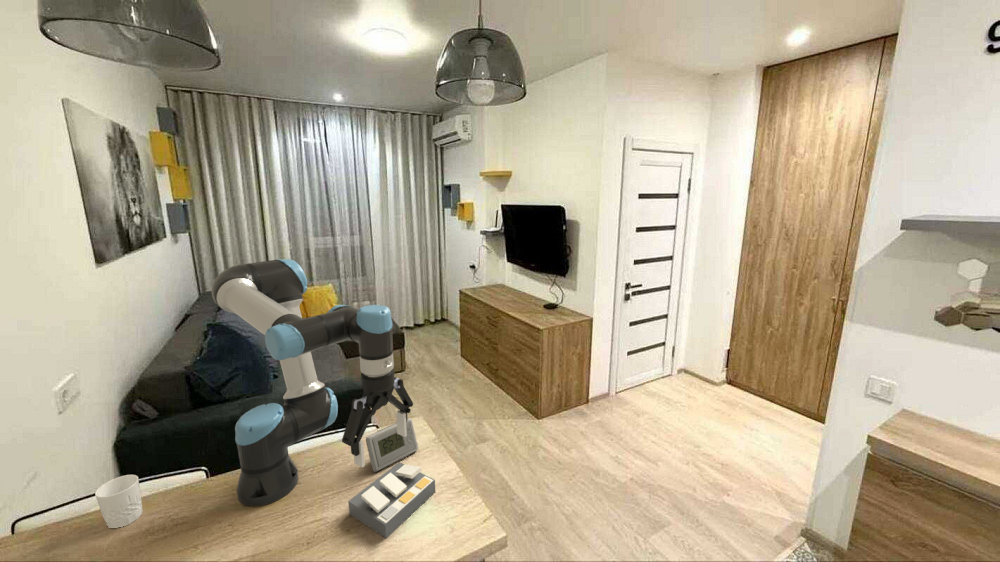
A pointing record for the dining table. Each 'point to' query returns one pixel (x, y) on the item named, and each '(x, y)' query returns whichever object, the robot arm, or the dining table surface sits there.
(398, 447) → the digital clock
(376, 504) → the switch
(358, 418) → the robot arm
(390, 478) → the switch
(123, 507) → the white cup
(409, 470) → the switch
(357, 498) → the panel
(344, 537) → the dining table surface
